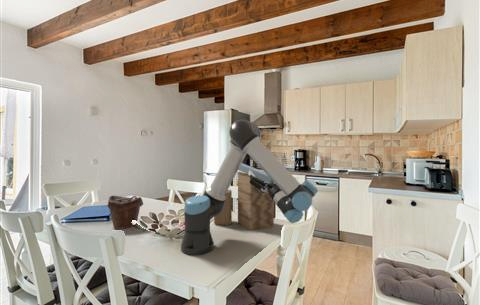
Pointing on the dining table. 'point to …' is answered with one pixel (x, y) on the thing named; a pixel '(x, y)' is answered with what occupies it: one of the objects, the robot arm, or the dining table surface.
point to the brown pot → (124, 210)
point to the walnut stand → (253, 205)
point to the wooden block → (225, 211)
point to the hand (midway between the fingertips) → (259, 171)
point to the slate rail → (255, 173)
